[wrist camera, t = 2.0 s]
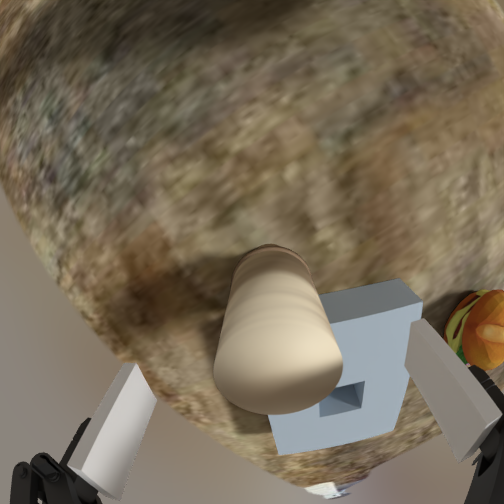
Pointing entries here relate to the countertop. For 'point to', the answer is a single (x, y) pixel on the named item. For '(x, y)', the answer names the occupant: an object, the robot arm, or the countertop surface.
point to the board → (358, 369)
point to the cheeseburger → (478, 329)
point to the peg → (275, 337)
